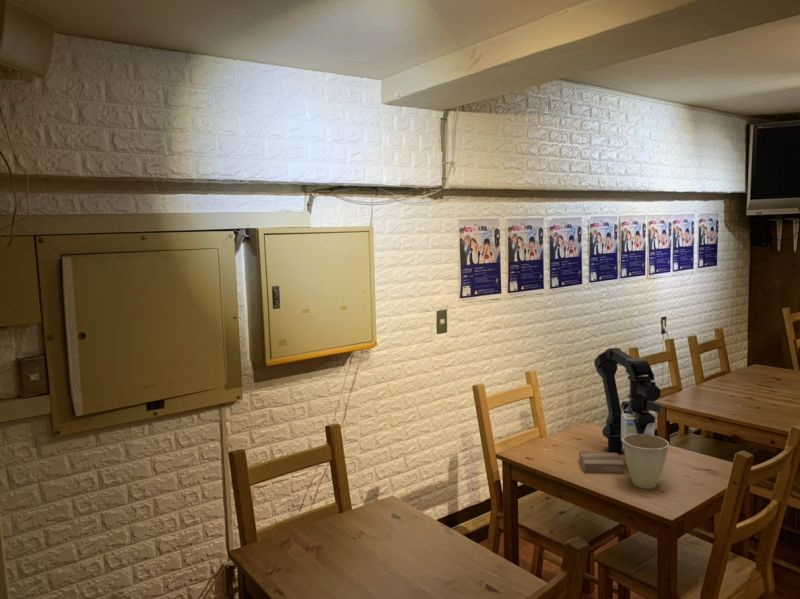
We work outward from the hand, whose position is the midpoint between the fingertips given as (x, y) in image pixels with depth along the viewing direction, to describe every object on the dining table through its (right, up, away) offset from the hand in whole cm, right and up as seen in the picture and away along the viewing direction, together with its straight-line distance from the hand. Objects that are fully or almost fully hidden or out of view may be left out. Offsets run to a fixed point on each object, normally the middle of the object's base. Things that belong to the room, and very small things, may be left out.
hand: (637, 433), depth 227 cm
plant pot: (-3, -15, -14) cm, 21 cm away
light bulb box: (0, -4, 0) cm, 4 cm away
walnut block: (-13, -14, +2) cm, 19 cm away
